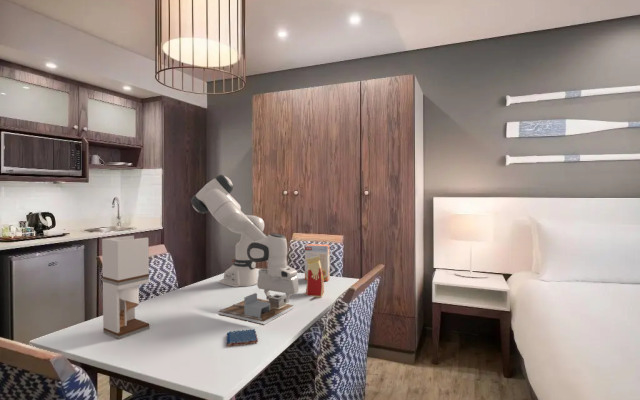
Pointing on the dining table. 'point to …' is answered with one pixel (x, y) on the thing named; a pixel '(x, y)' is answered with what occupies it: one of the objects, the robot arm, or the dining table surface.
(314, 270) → the milk carton
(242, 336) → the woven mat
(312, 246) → the cracker box
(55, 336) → the dining table surface
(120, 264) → the coffee grinder
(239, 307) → the base
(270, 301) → the block
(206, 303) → the dining table surface
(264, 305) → the cover
